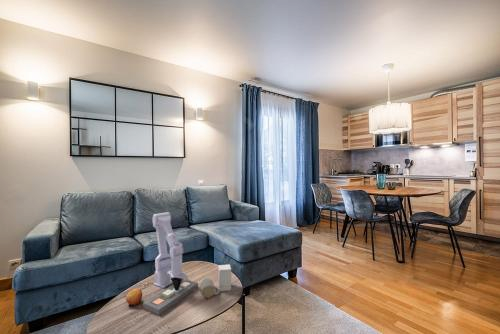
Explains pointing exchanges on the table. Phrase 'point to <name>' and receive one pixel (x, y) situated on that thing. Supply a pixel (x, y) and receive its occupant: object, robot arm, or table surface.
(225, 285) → the supplement box
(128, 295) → the fruit
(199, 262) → the table surface
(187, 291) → the keypad
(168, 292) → the key sage
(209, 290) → the ceramic mug
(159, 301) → the key terracotta
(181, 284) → the key ivory
